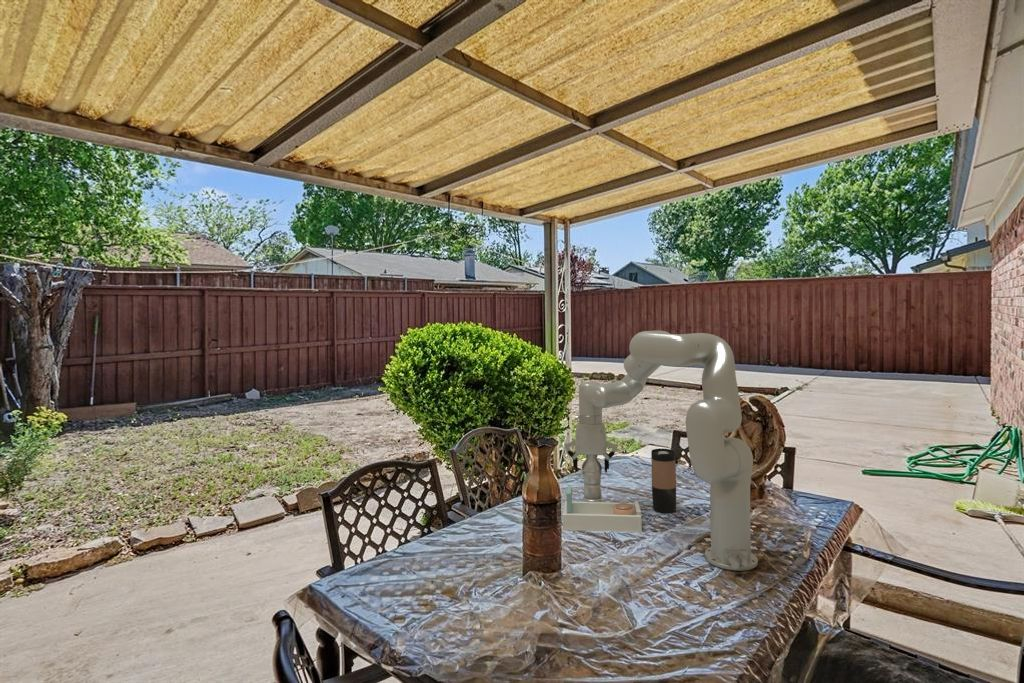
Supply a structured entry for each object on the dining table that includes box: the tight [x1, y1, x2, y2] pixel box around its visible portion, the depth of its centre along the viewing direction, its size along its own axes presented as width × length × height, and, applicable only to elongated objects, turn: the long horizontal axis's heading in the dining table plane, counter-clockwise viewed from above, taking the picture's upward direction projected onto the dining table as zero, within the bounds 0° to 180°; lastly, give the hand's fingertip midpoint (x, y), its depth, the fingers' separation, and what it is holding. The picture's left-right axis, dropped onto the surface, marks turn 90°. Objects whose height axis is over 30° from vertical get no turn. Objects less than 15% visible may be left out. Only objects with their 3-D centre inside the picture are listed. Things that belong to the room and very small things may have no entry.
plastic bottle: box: [581, 455, 604, 502], centre depth 173 cm, size 6×7×20 cm
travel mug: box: [650, 448, 677, 515], centre depth 170 cm, size 8×8×20 cm
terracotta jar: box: [614, 502, 634, 515], centre depth 160 cm, size 6×6×6 cm
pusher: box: [566, 484, 573, 514], centre depth 162 cm, size 9×1×10 cm, turn 171°
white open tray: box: [562, 500, 643, 533], centre depth 161 cm, size 12×23×6 cm, turn 81°
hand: (591, 470), depth 173 cm, fingers open, 9 cm apart
